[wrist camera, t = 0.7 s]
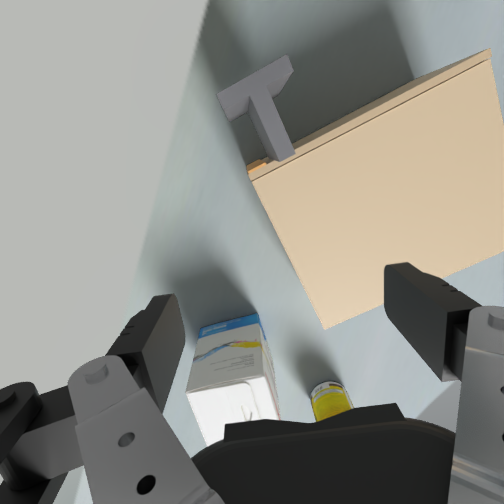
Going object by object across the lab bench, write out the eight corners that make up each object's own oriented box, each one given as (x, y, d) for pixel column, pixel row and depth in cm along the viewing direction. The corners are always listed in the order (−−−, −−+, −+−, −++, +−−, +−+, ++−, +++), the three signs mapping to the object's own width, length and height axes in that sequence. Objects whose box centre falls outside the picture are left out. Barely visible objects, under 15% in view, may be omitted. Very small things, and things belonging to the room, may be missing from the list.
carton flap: (399, 21, 30) (522, -79, 17) (417, 84, 32) (540, 37, 19) (222, 119, 32) (208, 98, 19) (248, 172, 34) (252, 186, 21)
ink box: (198, 326, 41) (181, 393, 30) (258, 311, 40) (265, 373, 29) (217, 376, 43) (208, 454, 32) (273, 363, 43) (284, 437, 32)
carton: (416, 85, 32) (490, 58, 22) (454, 217, 37) (527, 240, 27) (249, 173, 34) (251, 181, 25) (304, 286, 39) (324, 329, 30)
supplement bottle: (302, 392, 45) (318, 459, 35) (332, 373, 44) (358, 436, 34) (323, 414, 46) (344, 484, 36) (353, 396, 45) (383, 463, 35)
